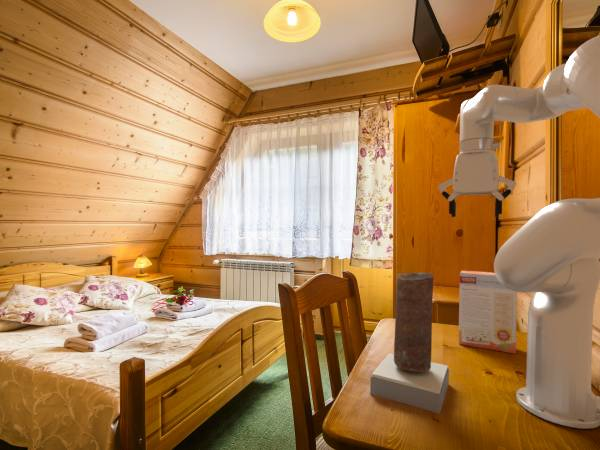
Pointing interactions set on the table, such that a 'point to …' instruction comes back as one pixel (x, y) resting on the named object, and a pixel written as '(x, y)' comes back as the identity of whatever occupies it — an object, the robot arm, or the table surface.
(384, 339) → the table surface
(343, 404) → the table surface
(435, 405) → the podium
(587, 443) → the table surface
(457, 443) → the table surface
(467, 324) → the cracker box
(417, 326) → the candle
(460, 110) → the robot arm
